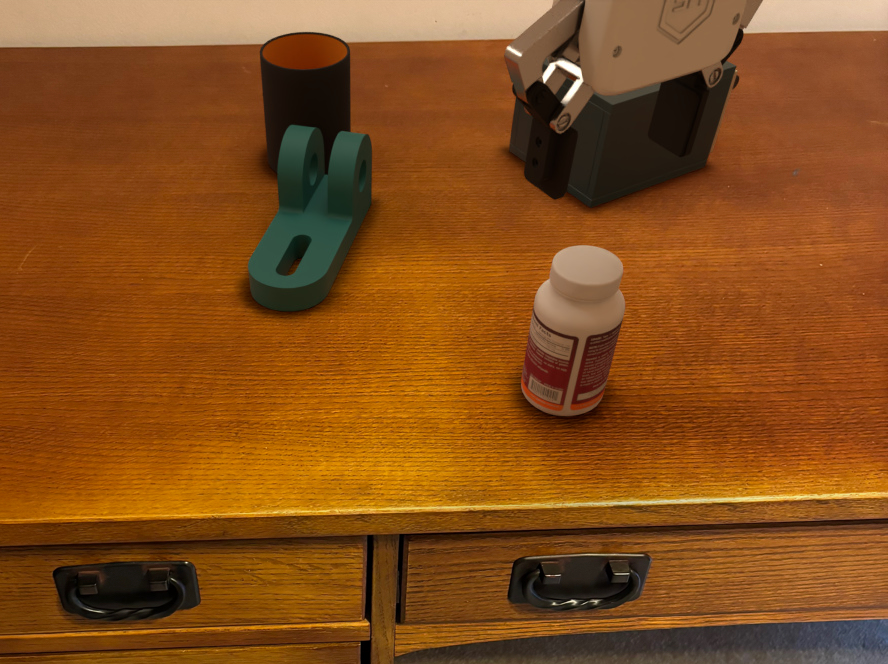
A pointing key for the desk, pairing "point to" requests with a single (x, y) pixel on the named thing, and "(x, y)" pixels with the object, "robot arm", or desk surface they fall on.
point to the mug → (305, 88)
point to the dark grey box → (624, 141)
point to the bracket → (311, 218)
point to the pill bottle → (574, 331)
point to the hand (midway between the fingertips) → (607, 167)
